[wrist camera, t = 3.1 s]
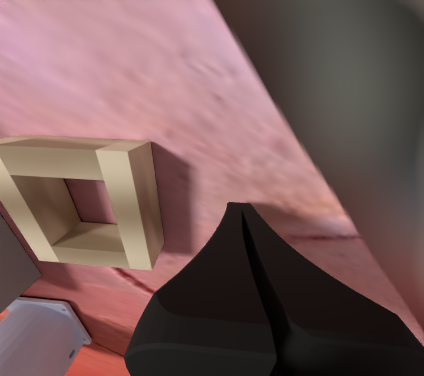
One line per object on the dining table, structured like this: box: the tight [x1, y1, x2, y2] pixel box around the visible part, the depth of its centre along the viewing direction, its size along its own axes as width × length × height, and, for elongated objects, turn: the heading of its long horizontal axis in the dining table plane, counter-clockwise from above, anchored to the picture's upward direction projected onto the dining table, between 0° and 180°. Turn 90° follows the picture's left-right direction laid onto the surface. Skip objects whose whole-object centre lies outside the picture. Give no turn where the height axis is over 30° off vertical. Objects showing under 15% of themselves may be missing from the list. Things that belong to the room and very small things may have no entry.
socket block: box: [0, 135, 164, 270], centre depth 10 cm, size 8×8×2 cm
